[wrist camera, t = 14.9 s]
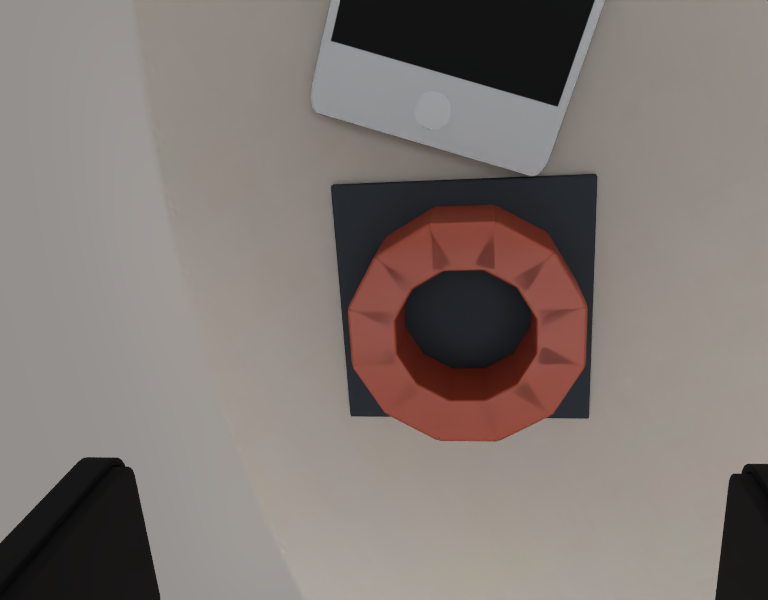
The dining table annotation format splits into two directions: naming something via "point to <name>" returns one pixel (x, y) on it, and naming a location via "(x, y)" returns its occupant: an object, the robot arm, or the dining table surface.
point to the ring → (469, 385)
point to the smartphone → (457, 72)
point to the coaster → (471, 287)
